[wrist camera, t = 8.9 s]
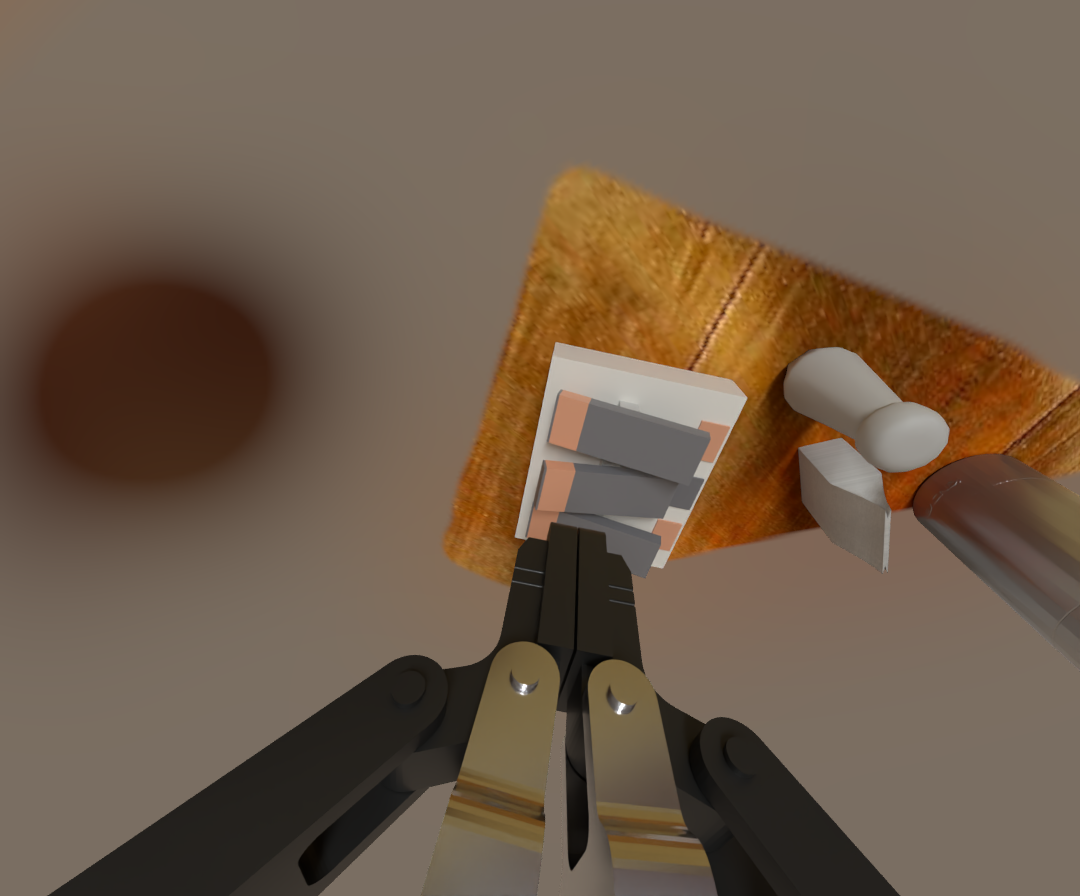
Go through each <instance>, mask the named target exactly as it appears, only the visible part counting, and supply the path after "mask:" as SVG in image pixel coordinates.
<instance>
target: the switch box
mask: <svg viewBox="0 0 1080 896" xmlns="http://www.w3.org/2000/svg"><path fill="white" fill-rule="evenodd" d="M561 389H562V390H566V391H569V392H573V393H576V394H580V395H583V396H587V397H590V398H593V399H596V400H600V401H603V402H606V403H610V404H613V405H617V406H620V407H624V408H627V409H631V410H634V411H637V412H641V413H644V414H648V415H651V416H655V417H658V418H662V419H665V420H668V421H672V422H675V423H679V424H682V425H686V426H689V427H693V428H696V429H699V430H703V431H706V432H710V437H711V440H710V442H709V444H708V446H707V449H706V451H705V453H704V455H703V457H702V459H701V461H700V463H699V465H698V468H697V470H696V472H695V474H694V476H693V478H692V480H691V482H690V485H689V486H687V485H683V484H680V483H679V485H678V487H677V489H676V491H675V494H674V496H673V498H672V500H671V503H670V505H669V507H668V509H667V511H666V514H665V516H664V518H663V519H657V518H643V517H629V516H615V515H601V514H595V515H598V516H601V517H604V518H607V519H610V520H614V521H617V522H620V523H623V524H626V525H629V526H632V527H635V528H638V529H641V530H644V531H647V532H650V533H653V534H656V535H659V536H661V546H660V548H659V550H658V552H657V554H656V556H655V559H654V561H653V563H652V565H651V566H653V567H658V568H663V567H664V565H665V563H666V561H667V559H668V557H669V555H670V553H671V551H672V549H673V547H674V545H675V543H676V541H677V539H678V537H679V535H680V533H681V531H682V529H683V527H684V525H685V523H686V521H687V519H688V517H689V515H690V513H691V511H692V509H693V507H694V505H695V503H696V501H697V499H698V497H699V495H700V493H701V491H702V489H703V487H704V485H705V483H706V481H707V479H708V477H709V475H710V473H711V471H712V469H713V467H714V465H715V462H716V460H717V458H718V456H719V454H720V452H721V450H722V448H723V446H724V444H725V442H726V440H727V438H728V436H729V434H730V432H731V430H732V428H733V426H734V424H735V422H736V420H737V418H738V416H739V414H740V412H741V410H742V408H743V406H744V404H745V402H746V400H747V397H746V395H745V394H744V393H743V392H742V391H741V390H740V389H739V387H738V386H737V385H736V384H735V383H734V382H733V380H730V379H725V378H721V377H716V376H711V375H707V374H702V373H697V372H693V371H688V370H683V369H679V368H674V367H669V366H665V365H660V364H655V363H651V362H646V361H642V360H637V359H632V358H628V357H623V356H618V355H614V354H609V353H604V352H600V351H595V350H590V349H586V348H581V347H576V346H572V345H567V344H562V343H558V342H556V343H555V348H554V352H553V356H552V361H551V366H550V370H549V375H548V380H547V385H546V390H545V394H544V399H543V404H542V409H541V414H540V419H539V423H538V428H537V433H536V438H535V443H534V447H533V452H532V457H531V462H530V467H529V471H528V476H527V481H526V486H525V491H524V496H523V500H522V505H521V510H520V515H519V520H518V524H517V529H516V534H515V538H520V539H525V540H527V539H528V538H527V537H525V535H526V530H527V526H528V521H529V517H530V513H531V508H532V504H533V501H534V497H535V493H536V488H537V484H538V479H539V475H540V471H541V466H542V462H543V460H551V461H562V462H572V463H580V464H591V465H601V466H612V467H622V468H629V467H626V466H623V465H619V464H616V463H613V462H610V461H607V460H603V459H600V458H597V457H594V456H591V455H587V454H584V453H581V452H578V451H574V450H571V449H567V448H564V447H561V446H558V445H555V444H552V443H549V442H547V437H548V433H549V428H550V424H551V420H552V415H553V411H554V406H555V402H556V397H557V394H558V393H559V391H560V390H561Z"/></svg>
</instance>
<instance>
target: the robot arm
mask: <svg viewBox="0 0 1080 896" xmlns="http://www.w3.org/2000/svg"><path fill="white" fill-rule="evenodd" d="M913 511H914V515H915V516H916V518H917V520H918V521H919V522H920V523H921V524H922V525H923V526H924V527H925V528H927V529H928V530H929V531H930V532H931V533H932V534H933V535H934V536H935V537H936V538H937V539H938V540H939V541H941V542H942V543H943V544H944V545H945V546H946V547H947V548H948V549H949V550H950V551H951V552H952V553H953V554H954V555H955V556H956V557H957V558H959V559H960V560H961V561H962V562H963V563H964V564H965V565H966V566H967V567H968V568H969V569H970V570H972V571H973V572H974V573H975V574H976V575H977V576H978V577H979V578H980V579H981V580H982V581H983V582H984V583H985V584H986V585H987V586H988V587H990V588H991V589H992V590H993V591H994V592H995V593H996V594H997V595H998V596H999V597H1000V598H1001V599H1002V600H1003V601H1005V602H1006V603H1007V604H1008V605H1009V606H1010V607H1011V608H1012V609H1013V610H1014V611H1015V612H1016V613H1017V614H1019V615H1020V616H1021V617H1022V618H1023V619H1024V620H1025V621H1026V622H1027V623H1028V624H1030V626H1031V627H1032V628H1034V629H1035V630H1036V631H1037V632H1038V633H1039V634H1040V635H1041V636H1042V637H1043V638H1044V639H1045V640H1046V641H1047V642H1049V643H1050V644H1051V645H1052V646H1053V647H1054V648H1055V649H1056V650H1057V651H1058V652H1059V653H1061V654H1062V655H1063V656H1064V657H1065V658H1066V659H1067V660H1068V661H1070V663H1071V664H1072V665H1073V666H1075V667H1076V668H1077V669H1078V670H1079V671H1080V496H1079V495H1078V494H1076V493H1074V492H1072V491H1070V490H1069V489H1067V488H1065V487H1063V486H1062V485H1061V484H1059V483H1057V482H1055V481H1054V480H1052V479H1050V478H1048V477H1047V476H1045V475H1043V474H1042V473H1040V472H1038V471H1036V470H1035V469H1033V468H1031V467H1029V466H1028V465H1026V464H1024V463H1022V462H1021V461H1019V460H1017V459H1015V458H1013V457H1011V456H1006V455H1002V454H984V455H976V456H972V457H968V458H964V459H962V460H959V461H957V462H954V463H951V464H950V465H948V466H946V467H944V468H942V469H940V470H939V471H938V472H936V473H935V474H934V475H932V476H931V477H930V478H929V479H928V480H927V481H926V482H925V483H924V484H923V485H922V486H921V487H920V489H919V490H918V492H917V493H916V496H915V498H914V501H913ZM634 604H635V601H634V594H633V586H632V576H631V571H630V569H629V567H628V566H627V564H626V562H625V561H624V559H623V557H622V555H618V554H613V553H608V552H607V545H606V534H605V532H601V531H596V530H591V529H586V528H581V527H578V529H577V527H575V526H570V525H565V524H560V523H555V522H551V523H550V527H549V531H548V535H547V539H546V540H541V539H536V538H531V537H528V539H527V540H526V541H525V542H524V543H523V545H522V546H521V547H520V548H519V549H518V554H517V558H516V563H515V568H514V573H513V578H512V583H511V588H510V593H509V598H508V603H507V608H506V612H505V617H504V622H503V628H502V632H501V636H500V640H499V642H498V644H497V646H496V647H495V649H494V650H493V651H492V652H491V653H490V654H489V655H488V656H487V657H486V658H484V659H483V660H481V661H479V662H477V663H475V664H472V665H468V666H463V667H456V668H449V669H442V668H441V666H440V665H439V664H438V663H437V662H435V661H434V660H432V659H430V658H428V657H425V656H420V655H409V656H404V657H401V658H399V659H396V660H394V661H392V662H391V663H389V664H387V665H386V666H384V667H383V668H381V669H380V670H379V671H377V672H376V673H374V674H373V675H371V676H370V677H368V678H367V679H365V680H364V681H362V682H361V683H359V684H358V685H356V686H355V687H354V688H352V689H351V690H349V691H348V692H346V693H345V694H343V695H342V696H340V697H339V698H337V699H336V700H334V701H333V702H332V703H330V704H329V705H327V706H326V707H324V708H323V709H321V710H320V711H318V712H317V713H316V714H314V715H312V716H311V717H310V718H308V719H307V720H305V721H304V722H302V723H301V724H299V725H298V726H296V727H295V728H293V729H292V730H290V731H289V732H287V733H286V734H284V735H283V736H282V737H280V738H279V739H277V740H276V741H274V742H273V743H271V744H270V745H268V746H267V747H265V748H264V749H262V750H261V751H260V752H258V753H257V754H255V755H254V756H252V757H251V758H249V759H248V760H246V761H245V762H244V763H242V764H241V765H239V766H238V767H236V768H235V769H233V770H232V771H230V772H229V773H227V774H226V775H224V776H223V777H221V778H220V779H218V780H217V781H215V782H214V783H212V784H211V785H210V786H208V787H207V788H205V789H204V790H202V791H201V792H199V793H198V794H196V795H195V796H193V797H192V798H190V799H189V800H188V801H186V802H185V803H183V804H182V805H180V806H179V807H177V808H176V809H174V810H173V811H171V812H170V813H169V814H167V815H166V816H164V817H163V818H161V819H160V820H158V821H157V822H155V823H154V824H152V825H151V826H149V827H148V828H146V829H145V830H143V831H142V832H140V833H139V834H138V835H136V836H135V837H133V838H132V839H130V840H129V841H127V842H126V843H124V844H123V845H121V846H120V847H118V848H117V849H116V850H114V851H113V852H111V853H110V854H108V855H107V856H105V857H104V858H102V859H101V860H99V861H98V862H96V863H95V864H93V865H92V866H91V867H89V868H88V869H86V870H85V871H83V872H82V873H80V874H79V875H77V876H76V877H74V878H73V879H71V880H70V881H69V882H67V883H66V884H64V885H63V886H61V887H60V888H58V889H57V890H55V891H54V892H52V893H51V894H50V895H48V896H318V895H319V894H320V893H321V892H322V891H323V890H324V889H325V888H326V887H327V886H329V884H331V883H332V882H333V881H334V880H335V878H337V877H338V876H339V875H340V874H341V873H342V872H343V871H344V870H345V869H346V868H347V867H348V866H349V865H350V864H351V863H352V862H353V861H354V860H355V859H356V858H357V857H358V856H359V855H360V854H361V853H362V852H363V851H364V850H365V849H367V848H368V847H369V846H370V845H371V844H372V843H373V842H374V841H375V840H376V839H377V838H378V837H379V836H380V835H381V834H382V833H383V832H384V831H385V830H386V829H387V828H388V827H389V826H390V825H391V824H392V823H393V822H394V821H395V820H396V819H397V818H398V817H399V816H400V815H401V814H402V813H404V812H405V811H406V809H408V808H409V807H410V806H411V805H412V804H413V803H414V802H415V801H416V800H417V799H418V798H419V797H420V796H421V795H422V794H423V793H424V792H425V791H426V790H427V789H428V788H429V787H432V786H436V785H440V784H444V783H449V782H453V781H457V782H456V785H455V787H454V789H453V791H452V794H451V797H450V800H449V803H448V806H447V809H446V812H445V816H444V819H443V822H442V825H441V829H440V832H439V835H438V839H437V842H436V845H435V849H434V852H433V855H432V859H431V862H430V866H429V869H428V872H427V876H426V879H425V883H424V886H423V889H422V893H421V896H537V891H538V884H539V875H540V867H541V860H542V851H543V843H544V832H545V814H544V798H545V790H546V783H547V775H548V768H549V760H550V753H551V745H552V738H553V730H554V723H555V715H556V710H557V711H562V712H567V720H566V735H565V737H564V740H563V742H562V746H561V808H562V809H561V810H562V811H561V812H562V877H561V885H560V890H559V896H900V895H899V894H898V893H897V892H896V891H895V889H894V888H893V887H892V886H891V885H890V884H889V883H888V882H887V880H886V879H885V878H884V877H883V876H882V875H881V874H880V873H879V872H878V870H877V869H876V868H875V867H874V866H873V865H872V864H871V863H870V861H869V860H868V859H867V858H866V857H865V856H864V855H863V854H862V852H861V851H860V850H859V849H858V848H857V847H856V846H855V845H854V843H853V842H852V841H851V840H850V839H849V838H848V837H847V836H846V835H845V833H844V832H843V831H842V830H841V829H840V828H839V827H838V826H837V824H836V823H835V822H834V821H833V820H832V819H831V818H830V817H829V815H828V814H827V813H826V812H825V811H824V810H823V809H822V808H821V806H820V805H819V804H818V803H817V802H816V801H815V800H814V799H813V797H811V795H810V794H809V793H808V792H807V791H806V790H805V789H804V787H803V786H802V785H801V784H800V783H799V782H798V781H797V780H796V779H795V777H794V776H793V775H792V774H791V773H790V772H789V771H788V770H787V768H786V767H785V766H784V765H783V764H782V763H781V762H780V761H779V759H778V758H777V757H776V756H775V755H774V754H773V753H772V752H771V750H769V748H768V747H767V746H766V745H765V744H764V743H763V742H762V740H761V739H760V738H759V737H758V736H757V735H756V734H755V733H754V732H753V731H752V730H750V729H749V728H748V727H746V726H745V725H743V724H742V723H740V722H738V721H736V720H733V719H730V718H725V717H719V718H714V719H711V720H710V721H708V722H707V723H706V724H704V723H702V722H700V721H699V720H697V719H695V718H693V717H691V716H690V715H688V714H686V713H684V712H682V711H680V710H679V709H677V708H675V707H673V706H672V705H670V704H669V703H667V702H666V701H665V700H664V699H663V698H662V697H661V696H660V695H659V694H658V693H657V692H656V691H655V690H654V688H653V686H652V684H651V683H650V681H649V679H648V678H647V677H646V675H645V672H644V669H643V665H642V659H641V650H640V643H639V634H638V626H637V617H636V609H635V607H634Z"/></svg>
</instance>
